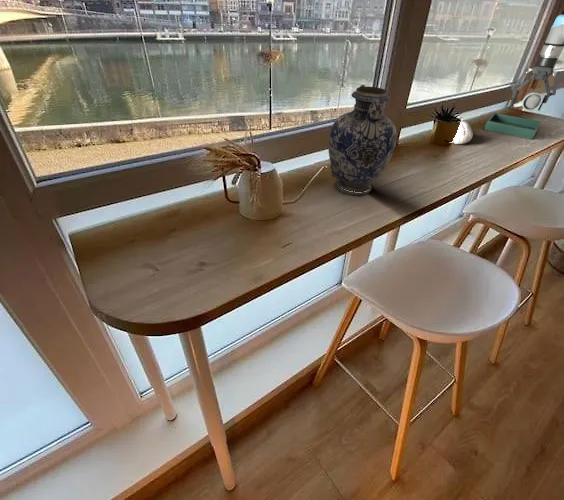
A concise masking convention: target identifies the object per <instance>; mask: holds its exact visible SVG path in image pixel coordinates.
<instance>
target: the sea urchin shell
mask: <svg viewBox="0 0 564 500" xmlns="http://www.w3.org/2000/svg"><path fill="white" fill-rule="evenodd" d="M460 120H461V122H460V125H459V127H458V130H457V133H456V135H455V137H454V138H453V141H452V142H450V143H451V144H455V145H462V144H467V143H469V142H470V141H471V140H472V138H473V135H474V132H473V129H472V126H471V125H470V124H469V122H467V121H466V120H462V119H460Z"/></svg>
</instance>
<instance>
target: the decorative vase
mask: <svg viewBox="0 0 564 500" xmlns="http://www.w3.org/2000/svg"><path fill="white" fill-rule="evenodd" d="M387 93H388V91H387V90H386V89H384V88H381V87H376V86H366V85H365V84H361V85H360V86H358V87H357V88H356V89H355V91H353V92H352V93H351V98H353V99H354V101H355V103H354V105H353V110H352V111H349V112H346V113H343V114H341V115H340V116H338V117H337V118H336V119H335V121H334V122H333V123H332V125H331V128H330V131H329V136H328V141H327V142H328V143H327V147H328V148H327V150H328V157H329V161H330V165H329V168H330V169H331V176H332V177H334V178H335V179H337V180H338V181H337V182H336V188H337V189H338V191H340V192H341V193H343V194H346V195H350V196H364V195H368V194H369V193H370V192H371V191H372V184H371V183H372V182H374V181H375V180H376V179H378V178H379V177H380V176H381V174H382V173H383V172H384V170H385V169H386V168H387V166H388V164H389V163H390V161H391V159H392V157H393V154H394V153H395V152H394V151H395V148H396V145H397V138H398V137H397V136H398V134H397V132H398V131H397V128H396V126H395V123H394V122H393V120H391V119H390V118H388V117H387V116H386V115H384V114H382V113H383V108H384V107H383V106H384V105H383V104H384V103H385V102H388V101H389V100H390V96H389V95H388V94H387ZM341 187H342V188H343V189H342V188H341ZM370 188H371V189H370ZM344 189H346V190H349V191H353V192H349V191H346V190H344ZM369 189H370V190H369ZM367 190H369V191H367ZM354 191H355V192H362V193H355V192H354ZM364 191H367V192H364Z"/></svg>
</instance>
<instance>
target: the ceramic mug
mask: <svg viewBox="0 0 564 500" xmlns="http://www.w3.org/2000/svg"><path fill="white" fill-rule="evenodd" d="M543 98H544V97H543V95H541V93H539V92H537V91H531V92H529V93H527V94H526V95H524V97H523V99H522V100H519V101H515V102H514V104H513V108H519V107H522V108H523V109H524V110H525V111H535V110H538V109H539V107H540V105H541V103H542V101H543Z"/></svg>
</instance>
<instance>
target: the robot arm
mask: <svg viewBox="0 0 564 500" xmlns="http://www.w3.org/2000/svg"><path fill="white" fill-rule="evenodd" d="M563 50H564V14H559V15H558V16H556V18H555V20H554V22H553V24H552V26H551V27H550V30H549V32H548V35H547V36H546V39H545V42H544V44H543V46H542V48H541V50H540V53H539V55H540V56H538V57H537V59H536V62H535V64H534V66H533V67H532V68H530V67H525V68H524V71H523V73H522V74H521V75H520V77H519V78H518V79H517V80H516V82H515V83H514V84H513V85H512V86H511V88H510V90H511V91H513V94H512V96H511V99H512V102H511V104H510V107H514V105H513V104H514V103H516V99H517V98H518V95H519V94H520V90H521V89H522V88H523V87H524V86H525V85H527V84H528V83H529V82H531V81H532V80H539V81H543V83H544V87H545V93H546V94H544V96H543V97H542V98H543V101H542V103H541V105H540V106H539V107H538V108H537V111H541V108H542V106H543V104H546V103H547V102H548V101H549V98H550V97H552V96H555V95H556V94H557V86H558V77H559V75H560V74H561V71H560V70H554V68H555V66H556V64H557V62H558V60H559V58H558V57H560V56H561V53H562V51H563ZM529 73H530V74H531V76H529V77H528V78H527V79H526V80H524V82H522V83H521V84H520V85H519V83H520V82H521V81H522V80H523V79H524V77H525V76H526V75H527V74H529ZM551 75H552V77H553V82H552V84H553V85H552V91H551V87H550V83H549V76H551ZM518 85H519V86H518Z"/></svg>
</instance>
